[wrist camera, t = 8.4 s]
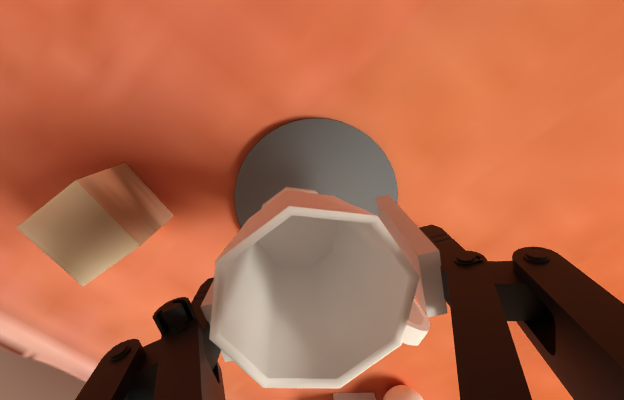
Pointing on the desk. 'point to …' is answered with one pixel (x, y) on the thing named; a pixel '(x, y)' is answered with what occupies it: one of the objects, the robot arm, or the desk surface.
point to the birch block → (96, 222)
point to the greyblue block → (354, 396)
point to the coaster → (314, 166)
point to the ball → (402, 393)
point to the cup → (313, 293)
